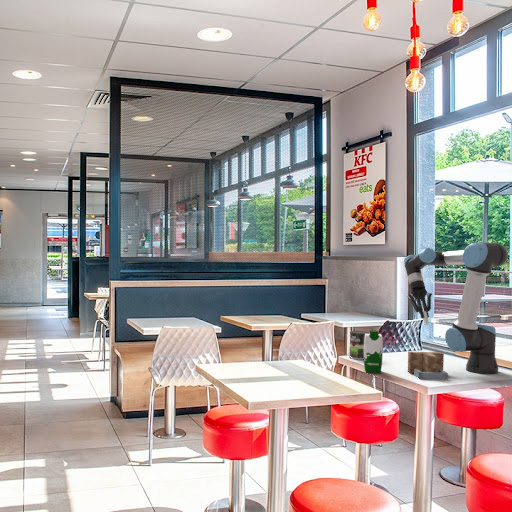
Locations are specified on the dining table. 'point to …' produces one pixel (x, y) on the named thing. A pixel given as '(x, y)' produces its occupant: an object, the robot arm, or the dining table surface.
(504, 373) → the dining table surface
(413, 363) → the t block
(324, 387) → the dining table surface
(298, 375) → the dining table surface
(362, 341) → the coffee can
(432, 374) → the tray
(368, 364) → the milk carton
